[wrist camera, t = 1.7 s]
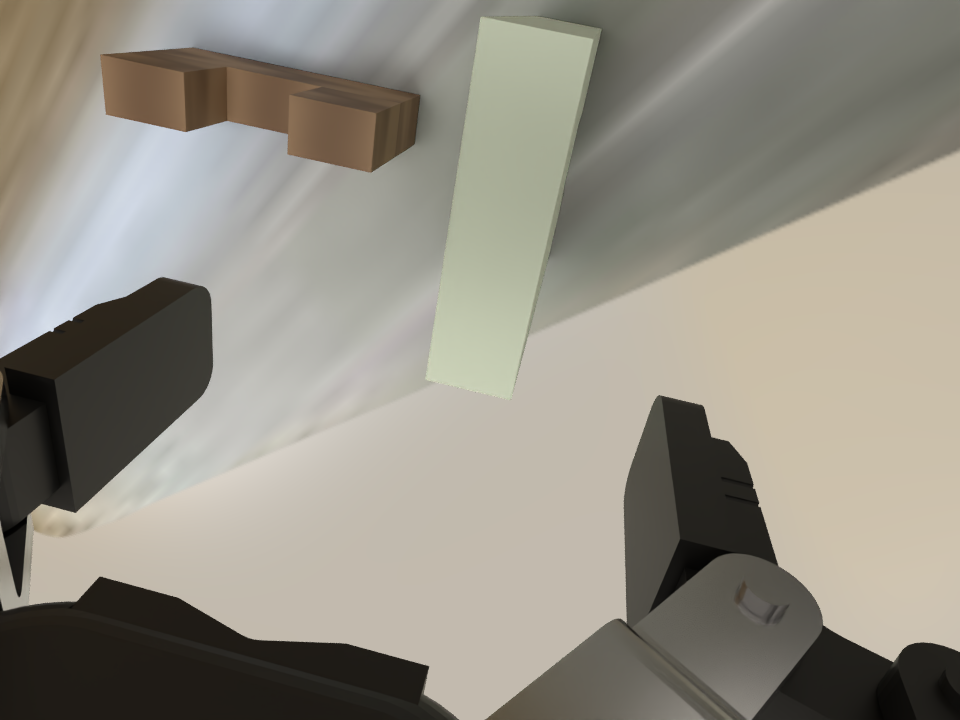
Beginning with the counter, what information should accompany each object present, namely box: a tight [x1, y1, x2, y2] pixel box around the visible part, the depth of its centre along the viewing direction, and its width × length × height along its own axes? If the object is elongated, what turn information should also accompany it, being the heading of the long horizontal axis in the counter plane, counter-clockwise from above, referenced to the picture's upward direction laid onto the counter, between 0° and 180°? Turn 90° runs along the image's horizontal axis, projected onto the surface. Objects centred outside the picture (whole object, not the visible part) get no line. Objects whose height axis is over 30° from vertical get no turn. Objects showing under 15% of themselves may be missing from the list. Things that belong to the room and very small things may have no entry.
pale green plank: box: [425, 16, 602, 400], centre depth 27 cm, size 11×3×15 cm, turn 170°
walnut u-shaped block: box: [100, 48, 420, 172], centre depth 31 cm, size 12×2×7 cm, turn 80°
